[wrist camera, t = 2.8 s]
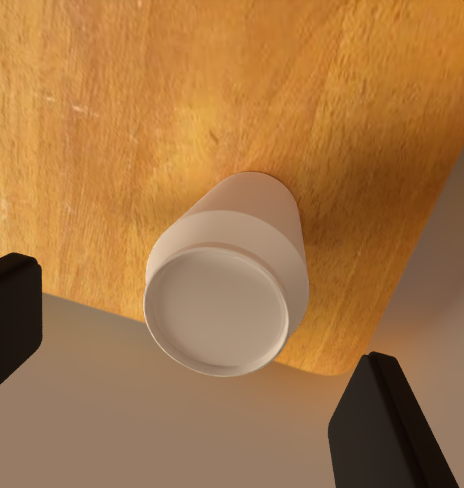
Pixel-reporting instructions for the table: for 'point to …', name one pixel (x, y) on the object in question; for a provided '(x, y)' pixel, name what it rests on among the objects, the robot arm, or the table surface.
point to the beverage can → (229, 278)
